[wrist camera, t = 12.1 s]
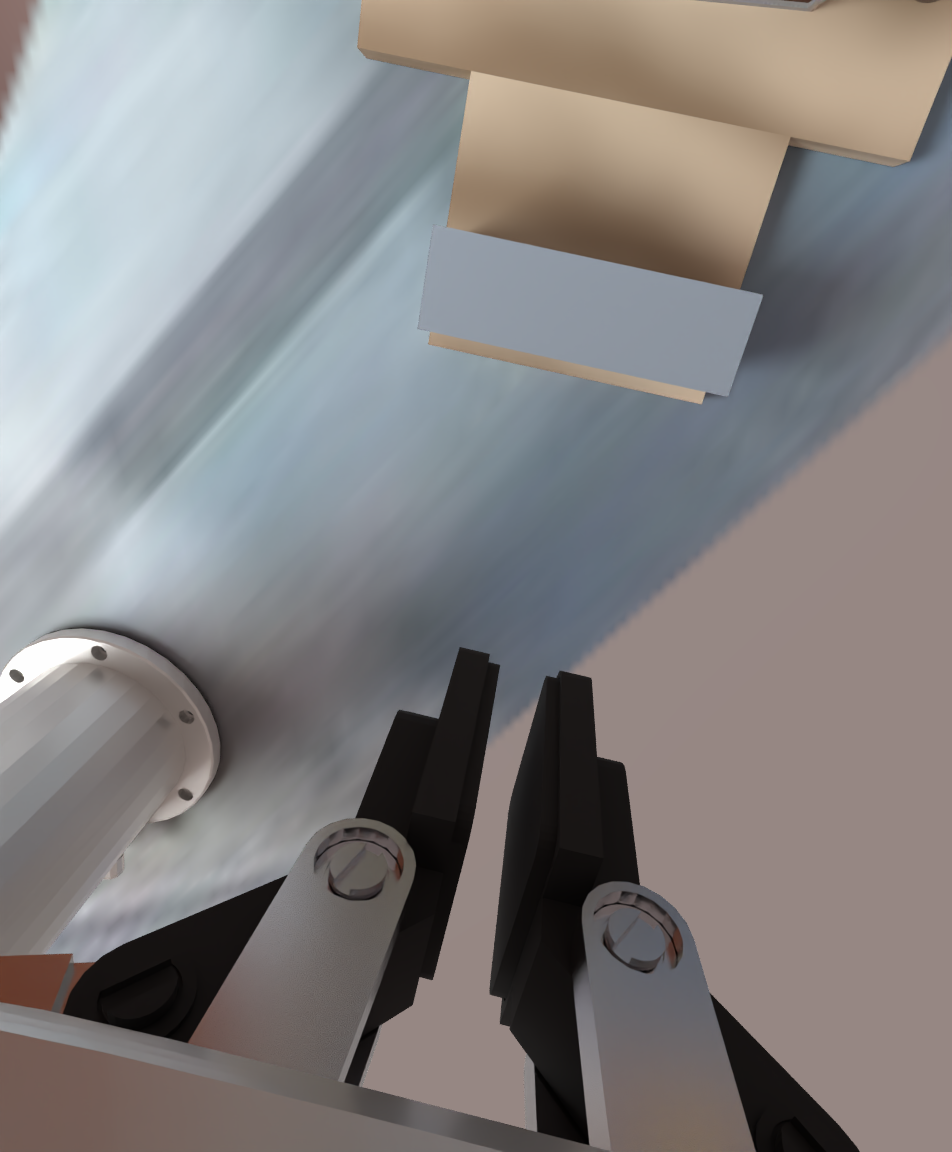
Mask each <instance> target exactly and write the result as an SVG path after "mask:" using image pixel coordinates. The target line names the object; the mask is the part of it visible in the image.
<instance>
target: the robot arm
mask: <svg viewBox="0 0 952 1152" xmlns="http://www.w3.org/2000/svg"><path fill="white" fill-rule="evenodd" d="M489 656H490V654H487V653H483V652H479V651H474V650H470V649H466V648H461V647H460V648H459V652H458V655H457V659H456V662H455V665H454V669H453V672H452V676H451V679H450V683H449V686H448V690H447V693H446V696H445V700H444V703H443V707H442V710H441V714H440V717H439V719H437V718H432V717H428V716H424V715H420V714H416V713H411V712H407V711H403V710H399V711H398V712H397V714H396V716H395V719H394V721H393V724H392V726H391V729H390V731H389V734H388V736H387V739H386V742H385V744H384V747H383V749H382V752H381V754H380V757H379V759H378V762H377V764H376V767H375V770H374V772H373V775H372V777H371V780H370V782H369V785H368V787H367V790H366V792H365V795H364V798H363V800H362V803H361V805H360V808H359V810H358V813H357V815H356V818H354V819H344V820H341V821H337V822H334V823H331V824H329V825H327V826H326V827H324V828H323V829H321V830H319V831H318V832H316V833H315V835H314V836H313V837H312V838H311V839H310V840H309V842H308V843H307V844H306V846H305V847H304V849H303V851H302V852H301V854H300V856H299V857H298V859H297V861H296V862H295V864H294V866H293V867H292V869H291V871H290V872H289V874H288V875H286V876H284V877H282V878H279V879H277V880H274V881H272V882H270V883H267V884H265V885H263V886H260V887H258V888H255V889H253V890H251V891H248V892H246V893H244V894H241V895H239V896H237V897H234V898H232V899H229V900H227V901H225V902H222V903H220V904H218V905H215V906H213V907H210V908H208V909H206V910H203V911H201V912H199V913H196V914H194V915H192V916H189V917H187V918H184V919H182V920H180V921H177V922H175V923H173V924H170V925H168V926H165V927H163V928H161V929H158V930H156V931H154V932H151V933H149V934H147V935H144V936H142V937H139V938H137V939H135V940H132V941H130V942H128V943H125V944H123V945H121V946H120V947H118V948H116V949H114V950H112V951H111V952H109V953H107V954H105V955H103V956H102V957H101V958H100V959H99V960H98V961H96V962H88V963H74V961H73V954H45V953H46V952H47V951H48V949H49V948H50V947H51V945H52V944H53V943H54V942H55V940H56V939H57V938H58V936H59V935H60V934H61V933H62V931H63V930H64V929H65V927H66V926H67V925H68V924H69V922H70V921H71V920H72V918H73V917H74V916H75V915H76V913H77V912H78V911H79V909H80V908H81V907H82V906H83V904H84V903H85V902H86V900H87V899H88V898H89V897H90V895H91V894H92V893H93V891H94V890H95V889H96V888H97V886H98V885H99V884H100V882H101V881H102V880H103V879H113V878H115V877H118V876H119V875H120V874H121V873H122V872H123V870H124V851H125V850H126V849H127V848H128V846H129V845H130V844H131V842H132V841H133V840H134V839H135V837H136V836H137V835H138V833H139V832H140V831H141V830H142V828H143V827H144V826H145V824H146V823H153V822H158V821H163V820H168V819H170V818H173V817H175V816H178V815H180V814H182V813H184V812H185V811H187V810H188V809H189V808H191V807H192V806H193V805H195V804H196V803H197V801H198V800H199V799H200V798H201V797H202V795H203V794H204V793H205V792H206V790H207V789H208V787H209V785H210V784H211V782H212V781H213V779H214V777H215V775H216V772H217V769H218V765H219V762H220V740H219V734H218V729H217V725H216V723H215V720H214V718H213V715H212V713H211V710H210V708H209V707H208V705H207V703H206V702H205V700H204V698H203V697H202V695H201V694H200V692H199V691H198V689H197V688H196V687H195V686H194V685H193V684H192V682H191V681H190V680H189V679H188V678H187V677H186V676H185V674H184V673H182V672H181V671H180V670H179V669H178V668H177V667H175V666H174V665H173V664H172V663H171V662H170V661H168V660H167V659H166V658H164V657H163V656H161V655H160V654H158V653H157V652H155V651H153V650H152V649H150V648H149V647H147V646H145V645H143V644H141V643H138V642H136V641H134V640H132V639H129V638H127V637H125V636H121V635H117V634H114V633H110V632H107V631H102V630H93V629H84V628H80V629H67V630H60V631H57V632H53V633H50V634H46V635H44V636H42V637H40V638H39V639H37V640H35V641H33V642H32V643H30V644H28V645H27V646H26V647H24V648H23V649H22V650H20V651H19V652H18V653H16V654H15V655H14V656H13V657H12V658H11V659H10V660H9V662H8V663H7V664H6V665H5V667H4V669H3V671H2V673H1V676H0V1152H859V1150H858V1148H857V1147H856V1146H855V1144H854V1143H853V1142H852V1141H851V1140H850V1138H849V1137H848V1136H847V1135H846V1133H845V1132H844V1131H843V1130H842V1129H841V1127H840V1126H839V1125H838V1124H837V1123H836V1122H835V1121H834V1120H833V1119H832V1118H831V1117H830V1116H829V1115H828V1114H827V1112H826V1111H825V1110H824V1109H822V1108H821V1106H820V1105H819V1104H818V1103H817V1102H816V1101H815V1100H814V1099H813V1098H812V1097H811V1096H810V1095H809V1094H808V1093H807V1092H806V1091H805V1090H804V1089H803V1088H802V1087H801V1086H800V1085H799V1084H798V1083H797V1082H796V1081H795V1080H794V1079H793V1078H792V1077H791V1076H790V1075H789V1074H788V1073H787V1071H786V1070H785V1069H784V1068H783V1067H782V1066H781V1065H780V1064H779V1063H778V1062H777V1061H776V1060H775V1059H774V1058H773V1057H772V1056H771V1055H770V1054H769V1053H768V1052H767V1051H766V1050H765V1049H764V1048H763V1047H762V1046H761V1045H760V1044H759V1043H758V1042H757V1041H756V1040H755V1039H754V1038H753V1037H752V1036H751V1035H750V1034H749V1033H748V1032H747V1031H746V1029H744V1027H743V1026H741V1024H740V1023H739V1022H738V1021H737V1020H736V1019H735V1018H734V1017H733V1016H732V1015H731V1014H730V1013H729V1012H728V1011H727V1010H726V1009H725V1008H724V1007H723V1006H722V1005H721V1004H720V1003H719V1002H718V1001H717V1000H716V999H715V998H714V997H713V996H712V995H711V994H710V993H709V990H708V986H707V983H706V979H705V976H704V972H703V969H702V966H701V963H700V959H699V955H698V952H697V949H696V945H695V942H694V939H693V936H692V934H691V932H690V930H689V927H688V925H687V923H686V922H685V920H684V919H683V918H682V916H681V915H680V914H679V913H678V911H677V910H676V909H675V908H674V907H673V906H672V905H671V904H670V903H668V902H667V901H666V900H665V899H664V898H663V897H661V896H660V895H658V894H657V893H655V892H653V891H651V890H649V889H647V888H646V887H643V886H640V883H639V875H638V867H637V858H636V850H635V842H634V835H633V826H632V818H631V810H630V802H629V794H628V786H627V778H626V771H625V767H624V765H623V763H621V762H617V761H613V760H609V759H604V758H600V757H597V751H596V736H595V721H594V706H593V693H592V680H591V678H589V677H585V676H581V675H577V674H572V673H568V672H564V671H559V673H558V676H557V678H553V677H549V676H546V678H545V680H544V683H543V687H542V690H541V694H540V697H539V701H538V704H537V708H536V712H535V715H534V719H533V722H532V726H531V729H530V733H529V736H528V740H527V743H526V747H525V750H524V754H523V757H522V761H521V764H520V768H519V771H518V775H517V779H516V782H515V785H514V789H513V793H512V797H511V801H510V806H509V813H508V821H507V831H506V840H505V849H504V859H503V869H502V878H501V887H500V897H499V905H498V915H497V924H496V934H495V942H494V952H493V961H492V971H491V980H490V995H493V996H497V997H501V998H502V1005H501V1017H500V1024H502V1025H506V1026H510V1031H511V1032H512V1034H513V1035H514V1036H515V1038H516V1039H517V1041H518V1042H519V1043H520V1045H521V1046H522V1048H523V1049H524V1050H525V1052H526V1053H527V1054H526V1058H525V1067H524V1091H525V1124H526V1129H523V1128H519V1127H515V1126H511V1125H508V1124H504V1123H500V1122H496V1121H492V1120H488V1119H484V1118H480V1117H477V1116H473V1115H468V1114H465V1113H461V1112H457V1111H453V1110H449V1109H445V1108H441V1107H437V1106H433V1105H430V1104H426V1103H422V1102H418V1101H414V1100H410V1099H406V1098H403V1097H399V1096H394V1095H391V1094H387V1093H383V1092H379V1091H375V1090H371V1089H367V1088H363V1087H362V1085H363V1083H364V1080H365V1077H366V1074H367V1071H368V1068H369V1065H370V1062H371V1059H372V1056H373V1053H374V1050H375V1047H376V1045H377V1042H378V1039H379V1035H380V1031H381V1027H382V1024H383V1023H385V1022H386V1021H388V1020H389V1019H391V1018H393V1017H394V1016H396V1015H397V1014H399V1013H401V1012H402V1011H404V1010H405V1009H407V1008H409V1007H410V1006H412V1005H413V1001H414V997H415V993H416V989H417V985H418V981H419V977H422V978H426V979H429V980H433V977H434V973H435V970H436V966H437V962H438V957H439V954H440V950H441V946H442V942H443V939H444V934H445V931H446V927H447V923H448V919H449V915H450V911H451V908H452V904H453V900H454V896H455V892H456V888H457V884H458V881H459V877H460V873H461V869H462V865H463V861H464V857H465V853H466V849H467V845H468V842H469V837H470V833H471V829H472V824H473V819H474V814H475V809H476V803H477V797H478V791H479V785H480V779H481V774H482V768H483V761H484V756H485V750H486V744H487V739H488V733H489V727H490V721H491V715H492V709H493V703H494V698H495V692H496V686H497V680H498V674H499V668H500V665H498V664H494V663H489V662H488V661H489Z"/></svg>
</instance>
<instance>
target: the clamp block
mask: <svg viewBox="0 0 952 1152" xmlns="http://www.w3.org/2000/svg"><path fill="white" fill-rule="evenodd" d="M762 298H763V295H762V294H757V293H753V292H748V291H743V290H739V289H734V288H729V287H725V286H720V285H715V284H711V283H706V282H701V281H697V280H692V279H687V278H683V277H678V276H673V275H669V274H664V273H659V272H654V271H650V270H645V269H640V268H636V267H631V266H626V265H622V264H617V263H612V262H608V261H603V260H598V259H594V258H589V257H584V256H580V255H575V254H570V253H566V252H561V251H556V250H552V249H547V248H542V247H538V246H533V245H528V244H524V243H519V242H514V241H510V240H505V239H500V238H496V237H491V236H486V235H482V234H477V233H472V232H467V231H463V230H458V229H453V228H449V227H444V226H439V225H435V224H433V228H432V235H431V241H430V248H429V255H428V262H427V268H426V275H425V282H424V289H423V295H422V302H421V309H420V315H419V322H418V329H420V330H425V331H430V332H434V333H439V334H443V335H448V336H452V337H457V338H461V339H466V340H471V341H475V342H480V343H484V344H489V345H493V346H498V347H502V348H507V349H512V350H516V351H521V352H525V353H530V354H534V355H539V356H544V357H548V358H553V359H557V360H562V361H566V362H571V363H575V364H580V365H585V366H589V367H594V368H598V369H603V370H607V371H612V372H617V373H621V374H626V375H630V376H635V377H639V378H644V379H648V380H653V381H658V382H662V383H667V384H671V385H676V386H680V387H685V388H689V389H694V390H699V391H703V392H708V393H712V394H717V395H721V396H726V397H728V395H729V393H730V390H731V387H732V384H733V381H734V378H735V375H736V372H737V370H738V367H739V364H740V361H741V358H742V355H743V352H744V349H745V347H746V344H747V341H748V338H749V335H750V332H751V329H752V327H753V324H754V321H755V318H756V315H757V312H758V309H759V306H760V304H761V301H762Z"/></svg>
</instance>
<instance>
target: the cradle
mask: <svg viewBox="0 0 952 1152" xmlns="http://www.w3.org/2000/svg"><path fill="white" fill-rule="evenodd" d="M357 48H358V49H359V50H360V51H361V52H362V53H363V55H364V56H365V57H366V58H368V59H373V60H378V61H382V62H387V63H392V64H397V65H402V66H407V67H411V68H416V69H421V70H426V71H431V72H436V73H441V74H445V75H450V76H455V77H460V78H465V79H470V81H469V88H468V94H467V100H466V107H465V113H464V119H463V126H462V132H461V139H460V145H459V151H458V158H457V164H456V171H455V177H454V183H453V190H452V196H451V203H450V209H449V215H448V222H447V227H449V228H453V229H458V230H463V231H467V232H472V233H477V234H482V235H486V236H491V237H496V238H500V239H505V240H510V241H514V242H519V243H524V244H528V245H533V246H538V247H542V248H547V249H552V250H556V251H561V252H566V253H570V254H575V255H580V256H584V257H589V258H594V259H598V260H603V261H608V262H612V263H617V264H622V265H626V266H631V267H636V268H640V269H645V270H650V271H654V272H659V273H664V274H669V275H673V276H678V277H683V278H687V279H692V280H697V281H701V282H706V283H711V284H715V285H720V286H725V287H729V288H734V289H739V290H740V288H741V285H742V282H743V279H744V276H745V273H746V270H747V267H748V264H749V261H750V258H751V255H752V252H753V249H754V246H755V243H756V240H757V237H758V234H759V231H760V228H761V225H762V222H763V219H764V216H765V213H766V210H767V207H768V204H769V201H770V198H771V195H772V192H773V189H774V186H775V183H776V180H777V177H778V174H779V171H780V168H781V165H782V162H783V159H784V156H785V153H786V150H787V147H788V145H789V146H794V147H799V148H804V149H809V150H814V151H818V152H823V153H828V154H833V155H838V156H843V157H848V158H852V159H857V160H862V161H867V162H872V163H877V164H881V165H886V166H891V167H895V166H898V165H900V164H903V163H906V162H909V161H910V159H911V156H912V154H913V152H914V149H915V147H916V144H917V142H918V139H919V137H920V134H921V132H922V129H923V127H924V124H925V122H926V119H927V117H928V114H929V112H930V109H931V107H932V104H933V102H934V99H935V97H936V94H937V92H938V89H939V87H940V84H941V82H942V79H943V77H944V75H945V72H946V70H947V67H948V65H949V62H950V60H951V57H952V0H825V1H824V2H823V3H822V4H821V5H819V6H818V7H817V8H816V9H814V10H813V11H812V12H808V11H798V10H788V9H778V8H767V7H757V6H747V5H737V4H726V3H716V2H706V1H696V0H362V4H361V14H360V25H359V35H358V45H357ZM428 344H429V345H434V346H438V347H443V348H447V349H452V350H456V351H461V352H465V353H470V354H475V355H479V356H484V357H488V358H493V359H497V360H502V361H506V362H511V363H515V364H520V365H525V366H529V367H534V368H538V369H543V370H547V371H552V372H556V373H561V374H565V375H570V376H575V377H579V378H584V379H588V380H593V381H597V382H602V383H606V384H611V385H616V386H620V387H625V388H629V389H634V390H638V391H643V392H647V393H652V394H656V395H661V396H666V397H670V398H675V399H679V400H684V401H688V402H693V403H697V404H702V402H703V399H704V396H705V393H706V392H703V391H699V390H694V389H689V388H685V387H680V386H676V385H671V384H667V383H662V382H658V381H653V380H648V379H644V378H639V377H635V376H630V375H626V374H621V373H617V372H612V371H607V370H603V369H598V368H594V367H589V366H585V365H580V364H575V363H571V362H566V361H562V360H557V359H553V358H548V357H544V356H539V355H534V354H530V353H525V352H521V351H516V350H512V349H507V348H502V347H498V346H493V345H489V344H484V343H480V342H475V341H471V340H466V339H461V338H457V337H452V336H448V335H443V334H439V333H434V332H430V337H429V343H428Z"/></svg>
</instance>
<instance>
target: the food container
mask: <svg viewBox="0 0 952 1152" xmlns="http://www.w3.org/2000/svg"><path fill="white" fill-rule="evenodd" d="M696 1H706V2H716V3H726V4H737V5H747V6H757V7H767V8H778V9H788V10H798V11H808V12H812V11H813V10H814V9H816V8H817V7H818V6H819V5H821V4H822V3H823V2H824V1H825V0H696Z"/></svg>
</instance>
